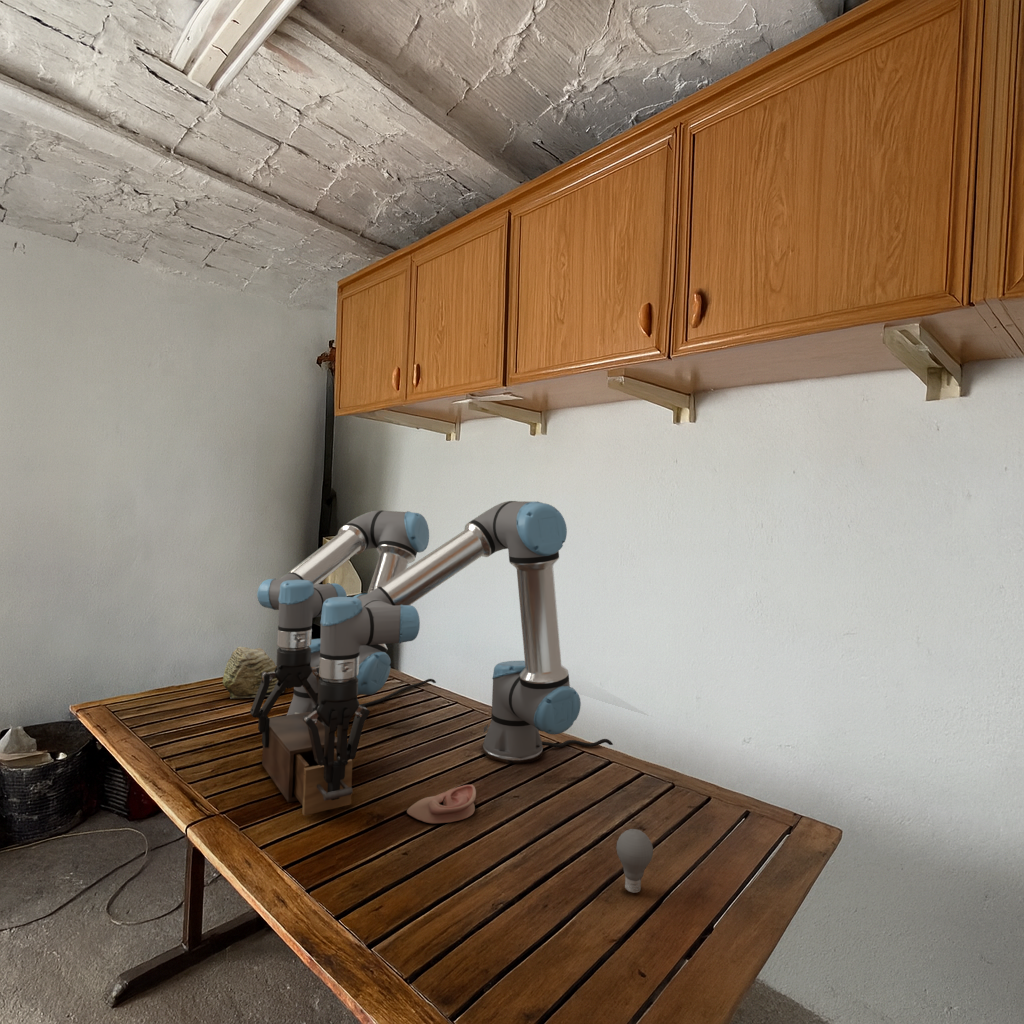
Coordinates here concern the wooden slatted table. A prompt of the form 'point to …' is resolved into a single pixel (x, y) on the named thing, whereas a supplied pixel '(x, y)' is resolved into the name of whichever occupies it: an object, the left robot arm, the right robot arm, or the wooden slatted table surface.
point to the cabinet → (287, 749)
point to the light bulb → (634, 857)
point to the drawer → (318, 784)
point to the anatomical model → (445, 806)
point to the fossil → (247, 672)
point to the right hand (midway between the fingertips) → (333, 796)
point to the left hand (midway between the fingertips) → (290, 740)
